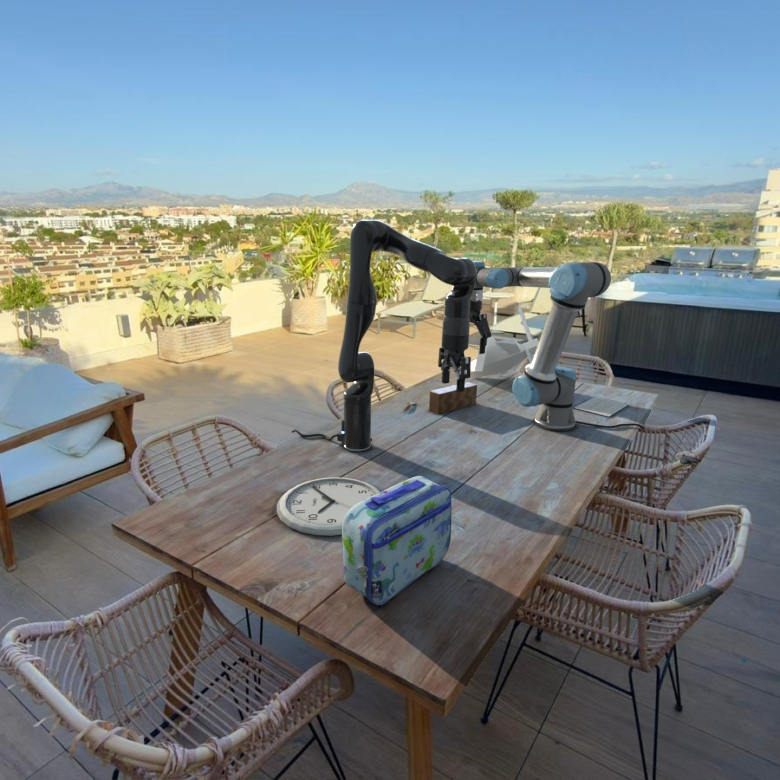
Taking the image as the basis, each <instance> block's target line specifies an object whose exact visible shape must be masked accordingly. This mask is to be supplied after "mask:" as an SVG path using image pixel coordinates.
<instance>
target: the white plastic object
mask: <svg viewBox="0 0 780 780" xmlns="http://www.w3.org/2000/svg"><path fill="white" fill-rule="evenodd" d="M517 310H518V314H519V316H520V319H521V322H522V325H523V328H524V332H525V334H526V338H527V341H525V342H523V343H519V342H518V341H517V338H516V337H510V338H506V339H502V340H496V339H495V338H494V336H493V335H492V336H491V337H489V338H487V345H486V346H485V353H484V354H479V351H478V352H477V356H476V359H474V360H471V373H470V377H472V378H480V377H488V376H489V377H490V376H497V375H498V376H499V377H501V376H504V375H506V374H509V371H510V370H511V369H513V368H514V367H516V366H517V365H519V363H521V362H522V361H524V360H525V359H526V358H527V359H528V364H531V363H532V360H533V355H534V354H535V352H536V349H537V346H538V343H539V341H540V340H539V339H538V338H537V337H535V338H533V336H532V334H531V331H530V328H529V325H528V322H527V319H526V316H525V313H524V311H523V309H522V307H520V306H519V307H517ZM480 338H482V337H481V336H480ZM479 349H480V346H479V348H478V350H479Z"/></svg>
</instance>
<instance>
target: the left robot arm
mask: <svg viewBox="0 0 780 780" xmlns="http://www.w3.org/2000/svg"><path fill="white" fill-rule="evenodd" d="M377 252H385V253H389V254H393V255H396V256H398V257H400V258H401V259H402V260H403V261H404V262H405V263H407V264H408V265H410V266H411V267H413V268H415V269H417V270H419V271H422V272H424V273H427V274H430V275H432V276H433V277H434V278H435V279H437V280H438V281H440V282H442V283H443V284H445V285H448V286H449V285H450V286H451V290H450V293H447V295H446V296H445V298H444V305H443V306H444V307H443V320H442V328H441V329H442V330H441V347H439V349H438V360H437V361H438V362H437V367H438V368H440V371H441V383H442V384H444V385H445V384H449V383H450V378H451V377H450V376H451V369H452V370H453V373H455V375H456V385H457V386H456V391H458V392H463V391H464V388H465V387H464V386H465V382H466V379H470V378H471V374H470V373H471V362H472V357H471V356H466V355H465V351H466V350H468V349H469V346H470V345H469V343H470V327H471V322H470V320H469V314H470V299H471V296H472V293H473V289H474V286H475V282H476V266H475V264H474V262H473V261H474V260H472V259H470V258H468V257H459V258H458V257H457V258H455V257H452V256H448V255H446V253H445V252H444V251H443V250H441V249H439V248H437V247H434V246H432V245H429V244H428V243H427V244H426V243H423V242H421V241H418V240H416V239H413V238H411V237H409V236H407V235H405V234H403V233H401V232H399V230H396V229H395V228H393V227H392V226H391V225H389V224H387V223H385V222H383V221H381V220H379V219H361V220H357V221H356V222H355V223H354V224H353V226H352V227H351V231H350V235H349V275H348V289H347V298H346V305H345V306H346V307H345V319H344V320H345V321H344V329H343V336H342V341H341V347H340V351H339V357H338V364H337V371H338V375H339V378H340V379H341V381H342V382H344V383H347V384H349V383H351V385H350V386H349V387H348V388H346V389H345V390H344V392H343V419H342V420H341V421H340V422H341V423H340V424H341V431H339V432H338V433H336V434H333V435H332V436H331V437H328V436H327V435H325V434H323V433H312V434H303V433H301V432H300V431H299V430H298V429H293V430H292V431H291V433H296V434H298V435H299V436H300V437H303V438H311V437H323V438H324V439H325V440H327V441H332V440H334V438H337V439H336V440H337V442H341V447H342V448H344V449H345V450H346V451H349V452H356V453H357V452H366V451H368V450H370V449H371V448H372V442H373V438H372V395H373V392H374V385H375V384H374V382H375V362H374V359H373V357H372V355H371V354H370V353H369V352H367V351H360V347H361V343H362V340H363V338H364V337H365V335H366V333H367V332H368V331H369V329H370V327H371V325H372V324H373V322H374V320H375V316H376V311H377V301H378V295H377V289H376V287H375V284H374V281H373V278H372V274H371V263H372V254H373V253H377Z"/></svg>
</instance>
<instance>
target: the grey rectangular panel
mask: <svg viewBox="0 0 780 780" xmlns="http://www.w3.org/2000/svg"><path fill="white" fill-rule="evenodd" d="M628 406H629V404H627V403H623V402H618V401H614V400H609V399H605V398H601V397H596V396H593V397H592V398H590V399H588V400H586V401H584V402H582V403H580V404H578V405H575V406H574V407H573V409H575V410H581V411H584V412H587V413H593V414H596V415H600V416H604V417H608V418H609V417H611V416H613V415H614V414H616V413H617V412H619V411H621V410H623V409H624V408H626V407H628Z"/></svg>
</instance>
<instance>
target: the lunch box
mask: <svg viewBox="0 0 780 780" xmlns="http://www.w3.org/2000/svg"><path fill="white" fill-rule="evenodd" d="M452 511H453V510H452V491H451V489H450V487H449V486H447V485H444V484H442V485H440V484H437V483H436V482H434V481H432V480H430V479H428V478H427V477H425V476H422V475H416V476H413V477H411V478H408V479H406V480H403V481H401V482H399V483H397V484H395V485H393V486H390V487H388V488H386V489H384V490H382V491H381V492H380V493H378V494H376V495H374V496H372V497H370V498H368V499H366V500H364V501H362V502H360V503H358V504H356V505H354V506H353V507H352V508H351V509H350V510H349V511H348V512H347V514H346V516H345V518H344V521H343V525H342V535H341V543H342V544H341V545H342V569H343V578H344V583H345V585H346V586H347V587H349V588H351V589H352V590H354V591H356V592H357V593H360V594H361V595H362V596H363V597H365V598H367V601H369V603H372V604H373V605H376V606H383V605H385V604H386V603H388V602H389V601H390V600H391V599H392V598H394V597H395V596H396V595H397V594H399V593H400V592H401V591H403V590H404V589H406V588H407V587H408V586H410V585H411V584H413V583H414V582H416V580H417V579H418V578H420V576H422V575H423V574H425V573H426V572H428V571H430V570H432V569H433V568H435V567H436V566H438V565H439V564H440V563H441V562H442V561H443V560H444V558H445V557H446V555H447V552H448V551H449V548H450V544H451V539H452V515H453V514H452Z"/></svg>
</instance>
